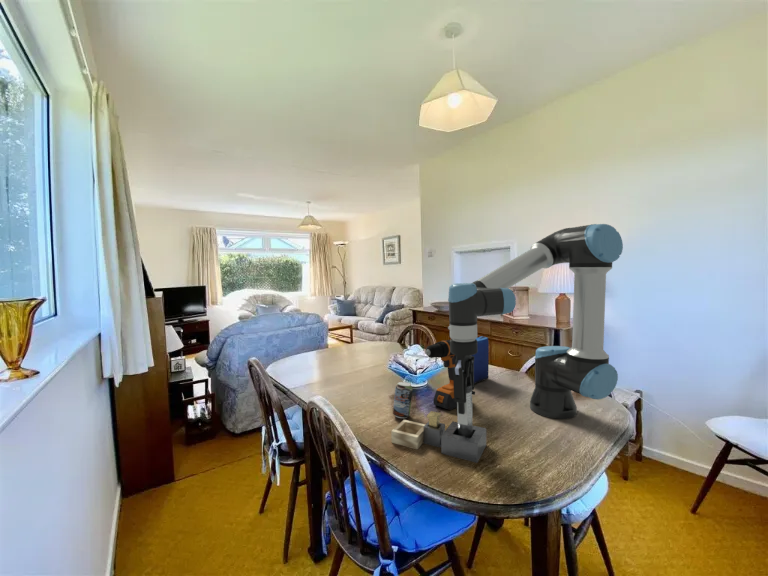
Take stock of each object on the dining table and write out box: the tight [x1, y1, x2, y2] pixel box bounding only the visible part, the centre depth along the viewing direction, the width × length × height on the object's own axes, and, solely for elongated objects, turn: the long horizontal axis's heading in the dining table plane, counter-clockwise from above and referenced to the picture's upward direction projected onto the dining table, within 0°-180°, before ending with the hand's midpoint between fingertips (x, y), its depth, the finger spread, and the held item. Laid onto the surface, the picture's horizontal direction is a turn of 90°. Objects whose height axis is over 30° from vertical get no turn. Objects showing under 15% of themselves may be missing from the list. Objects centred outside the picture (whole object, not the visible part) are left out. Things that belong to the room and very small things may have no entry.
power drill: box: [424, 338, 457, 411], centre depth 129 cm, size 22×7×25 cm, turn 129°
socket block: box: [423, 420, 487, 464], centre depth 99 cm, size 16×10×6 cm, turn 60°
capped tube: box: [458, 384, 474, 438], centre depth 97 cm, size 4×4×16 cm
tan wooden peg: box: [426, 410, 442, 429], centre depth 101 cm, size 3×3×8 cm
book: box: [471, 335, 490, 385], centre depth 155 cm, size 14×5×20 cm, turn 130°
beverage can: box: [392, 381, 413, 419], centre depth 121 cm, size 6×7×12 cm
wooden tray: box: [390, 419, 426, 450], centre depth 103 cm, size 8×8×4 cm
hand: (465, 420), depth 97 cm, fingers closed on capped tube, 4 cm apart
